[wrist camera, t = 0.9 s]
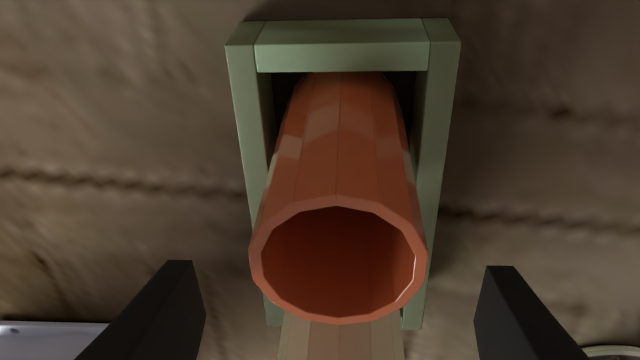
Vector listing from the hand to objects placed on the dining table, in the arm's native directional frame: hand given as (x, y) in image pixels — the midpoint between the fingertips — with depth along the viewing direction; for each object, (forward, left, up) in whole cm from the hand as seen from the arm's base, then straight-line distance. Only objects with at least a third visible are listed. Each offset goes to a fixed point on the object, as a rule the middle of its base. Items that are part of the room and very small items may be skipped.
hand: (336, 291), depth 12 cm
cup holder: (0, -3, -10) cm, 10 cm away
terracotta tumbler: (0, 0, -10) cm, 10 cm away
